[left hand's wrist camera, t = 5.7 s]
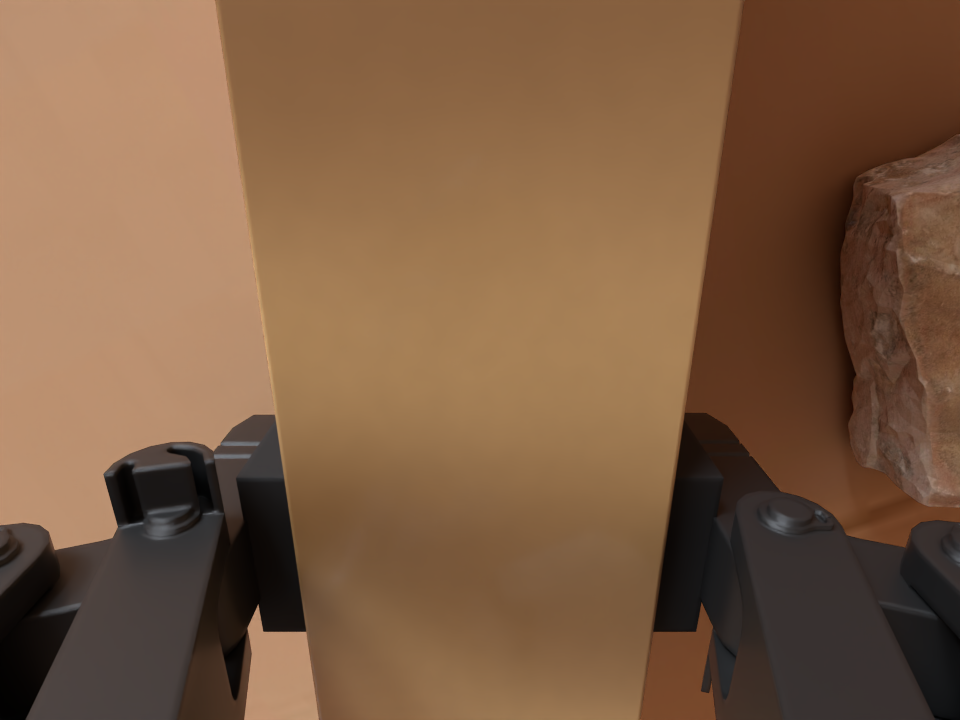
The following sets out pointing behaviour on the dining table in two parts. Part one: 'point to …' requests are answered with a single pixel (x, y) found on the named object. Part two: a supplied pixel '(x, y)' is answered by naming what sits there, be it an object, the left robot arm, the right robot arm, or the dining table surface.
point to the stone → (906, 322)
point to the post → (479, 330)
